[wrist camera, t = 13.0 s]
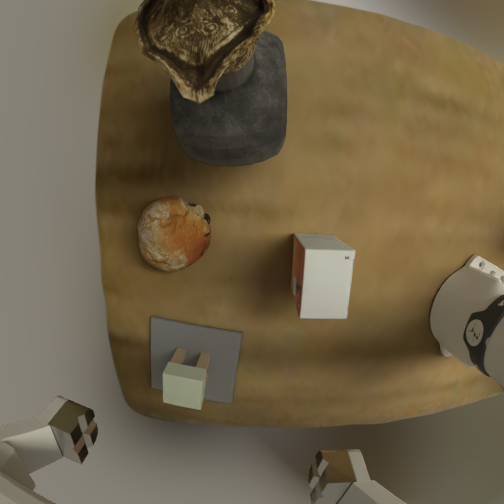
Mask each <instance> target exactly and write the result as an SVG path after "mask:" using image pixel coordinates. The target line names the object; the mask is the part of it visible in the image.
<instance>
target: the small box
mask: <svg viewBox="0 0 504 504" xmlns="http://www.w3.org/2000/svg"><path fill="white" fill-rule="evenodd" d="M354 258H355V250H354V249H352V248H351V247H350V246H348V245H347V244H345V243H344V242H342V241H341V240H339V239H338V238H337V237H335V236H334V235H326V234H305V233H294V246H293V263H292V277H291V290H292V293H293V297H294V300H295V304H296V308H297V311H298V315H299V318H306V319H346V318H347V313H348V304H349V296H350V288H351V280H352V272H353V264H354Z"/></svg>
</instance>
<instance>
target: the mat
mask: <svg viewBox="0 0 504 504" xmlns="http://www.w3.org/2000/svg"><path fill="white" fill-rule="evenodd" d="M241 338H242V332H239V331H233V330H226V329H220V328H214V327H208V326H203V325H197V324H192V323H186V322H181V321H176V320H171V319H166V318H161V317H156V316H152V317H151V384H152V388H154V389H158V390H163V372H164V370H165V368H166V366H167V364H168V362H170V361H171V359H172V357H173V355H174V353H175V351H176V350H177V348H181V349H186V357H185V360H184V362H183V364H182V365H187V366H192V367H196V365H197V363H198V360H199V357H200V354H201V352H203V353H208V354H210V361H209V365H208V368H207V371H206V373H208V381H207V385H206V388H205V392H204V399H206V400H212V401H217V402H224V403H230V404H231V403H232V397H233V390H234V384H235V377H236V371H237V364H238V358H239V351H240V345H241Z"/></svg>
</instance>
